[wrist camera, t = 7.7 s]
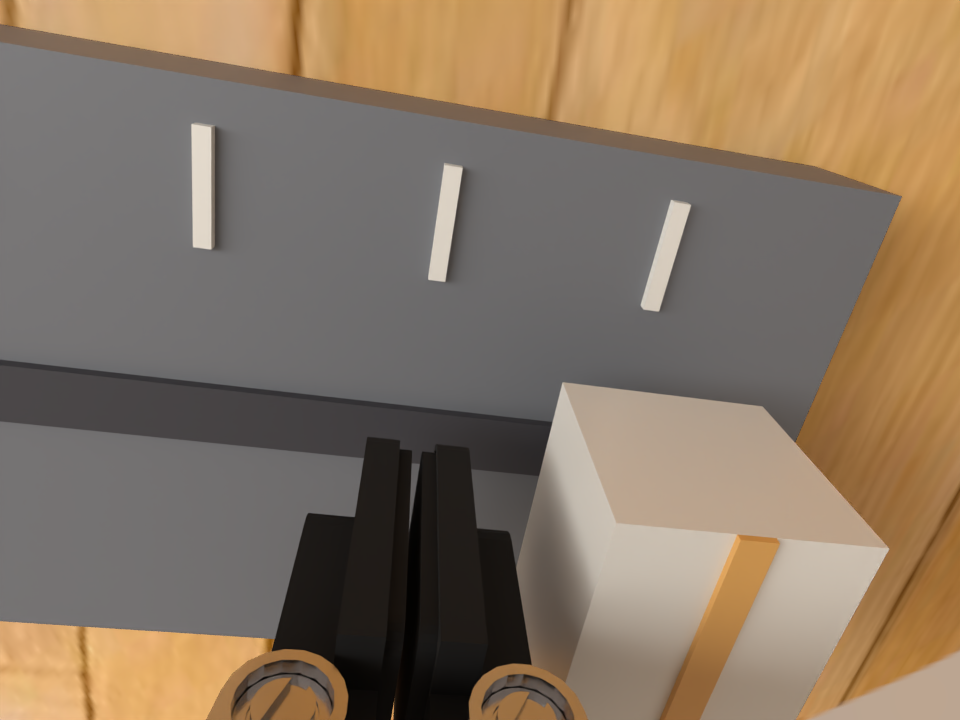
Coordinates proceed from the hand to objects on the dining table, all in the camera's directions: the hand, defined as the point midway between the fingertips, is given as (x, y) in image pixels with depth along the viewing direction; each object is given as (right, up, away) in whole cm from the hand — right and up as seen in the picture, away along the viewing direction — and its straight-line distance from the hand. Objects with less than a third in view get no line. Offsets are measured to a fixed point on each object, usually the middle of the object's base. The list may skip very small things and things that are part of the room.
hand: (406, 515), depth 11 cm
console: (-4, +3, +4) cm, 7 cm away
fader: (+4, 0, +2) cm, 5 cm away
